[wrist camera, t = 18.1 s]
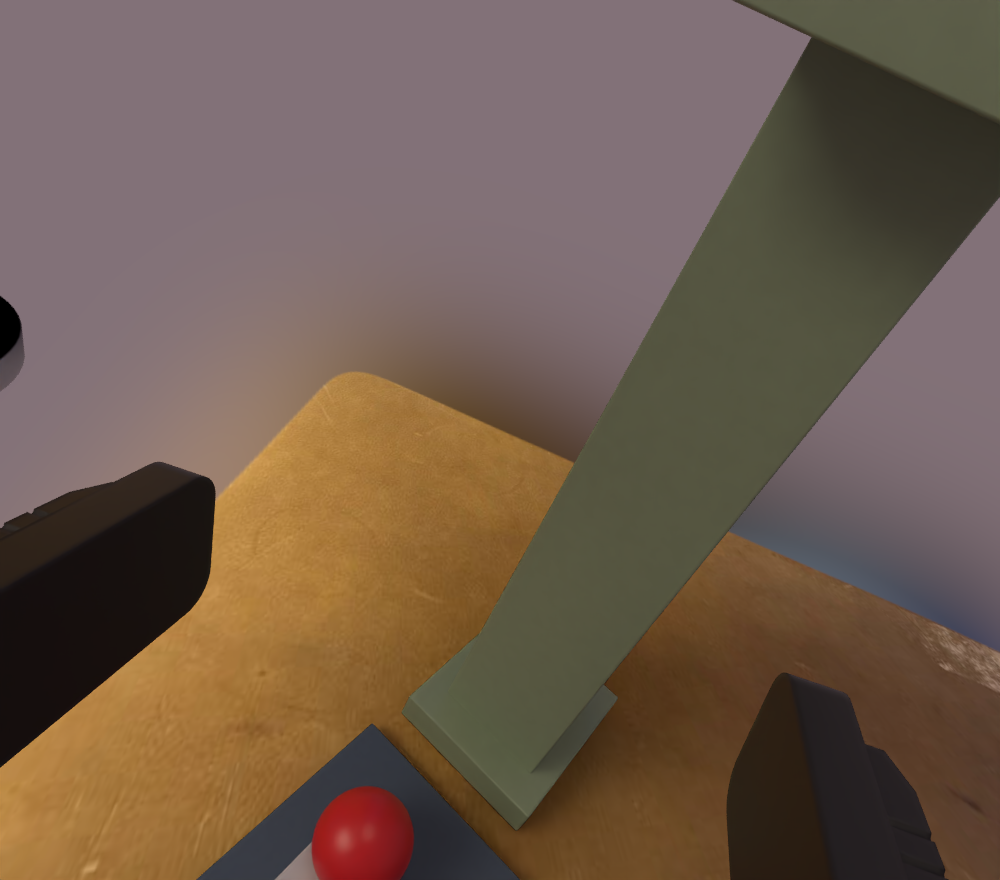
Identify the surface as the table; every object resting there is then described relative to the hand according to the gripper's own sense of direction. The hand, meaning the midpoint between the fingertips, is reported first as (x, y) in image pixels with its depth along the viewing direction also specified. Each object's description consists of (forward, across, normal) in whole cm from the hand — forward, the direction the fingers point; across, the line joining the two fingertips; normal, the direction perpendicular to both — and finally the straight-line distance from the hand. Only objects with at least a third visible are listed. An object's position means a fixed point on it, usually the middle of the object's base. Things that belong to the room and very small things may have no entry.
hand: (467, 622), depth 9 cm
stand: (+17, 0, -18) cm, 25 cm away
